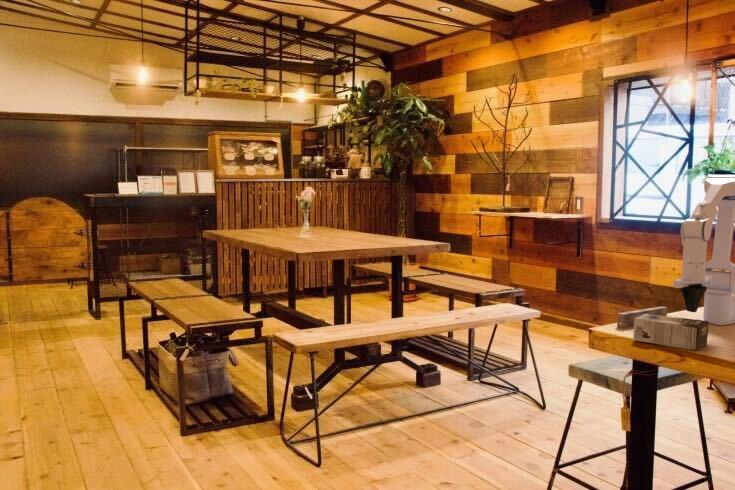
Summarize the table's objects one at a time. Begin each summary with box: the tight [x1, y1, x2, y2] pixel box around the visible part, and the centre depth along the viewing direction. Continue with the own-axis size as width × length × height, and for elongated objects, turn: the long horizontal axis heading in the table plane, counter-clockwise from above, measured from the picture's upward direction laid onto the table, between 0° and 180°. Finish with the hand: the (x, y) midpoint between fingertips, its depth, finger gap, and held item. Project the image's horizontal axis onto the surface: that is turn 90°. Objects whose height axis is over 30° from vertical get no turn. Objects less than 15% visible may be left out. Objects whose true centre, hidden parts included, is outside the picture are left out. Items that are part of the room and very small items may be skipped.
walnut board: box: [616, 306, 668, 329], centre depth 198 cm, size 20×2×4 cm, turn 121°
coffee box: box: [632, 314, 710, 352], centre depth 175 cm, size 9×6×16 cm
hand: (691, 311), depth 184 cm, fingers closed
